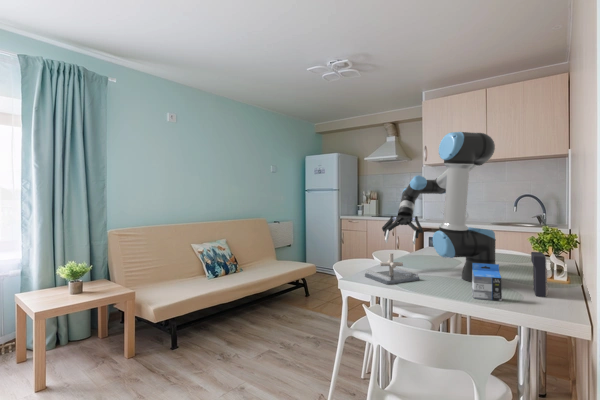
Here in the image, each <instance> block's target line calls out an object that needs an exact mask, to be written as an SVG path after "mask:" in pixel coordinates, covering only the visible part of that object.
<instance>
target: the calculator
mask: <svg viewBox="0 0 600 400" xmlns="http://www.w3.org/2000/svg"><path fill="white" fill-rule="evenodd" d="M530 252H531V253H530V254H531V256H530V257H531V259H530V260H531V263H532V265H533V266H532V267H533V268H532V269H533V270H532V271H533V272H532V273H533V274H532V275H533V282H532V285H533V286H532V287H533V292H534V295H535V296H536V297H539V298H546V297H547V296H548V289H549V288H548V275H549V274H548V268H547V257H546V255H545V253H543V252H542V251H541V252H540V251H530Z"/></svg>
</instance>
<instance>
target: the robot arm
mask: <svg viewBox="0 0 600 400" xmlns="http://www.w3.org/2000/svg"><path fill="white" fill-rule="evenodd" d="M438 145H439V146H438V155H439V157H440V159H442V161H443V166H445V167H446V168H447V169H445V170H444V171H443V173H441V174H440V175H439V176H438V177H436V178H434V179H427V178H425V177H424V176H422V175H415V176H413V177H412V178H411V180H410V181H409V183H408V185H407V187H405V188H403V190H402V193H401V198H400V202H399V208H398V212H397V216H393V215H391V216H390V218H389V219H388V220H387V222H386V223H385V224H384V225H383V226H382V227H381V229H382V231H383V235H384V237H385V238H384V241H385V244H388V242H389V238H390V232H391V231H393V229H395V228H396V227H399V226H409V227H410V228H411V229H412V230H413V237H412V244H413V245H416V240H417V239H419V235H420V233H421V234H423V233H424V231H423V227H422V225H421V224H420V221H419V216H414V217H413V215H414V210H415V209H414V208H415V204H416V201H417V199H418V198H419V196H420V195H424V194H425V195H426V194H428V195H429V194H430V195H435V194H436V195H438V194H439V195H443V194H445V195H444V208H443V209H444V210H443V222H442V223H441V224H440V225H439V226H438V228H439V229H438V230H437V231H435V232H434V234H433V235H432V246H433V249H434V250H435V253H437V254H438V256H440V257H442V258H445V259H446V258H450V259H454V258H465V263H464V266H463V269H462V271H461V279H462V280H463V281H464V280H465V281H468V282H470V283H472V269H473V267H472V263H481V264H497V263H496V234H495V231H494V230H492V229H487V228H478V227H471V226H468V225H466V220H467V219H466V218H467V217H466V216H467V205H468V191H469V182H470V172H471V171H472V170H474V169H475V168H476V167H479V166H484V164H485V163H487V162H489V161H490V159H491V158H492V157H493V155H494V153H495V151H496V150H495V149H496V148H495V147H496V144H495V141H494V139H493V138H492V137H491V136H490V135H488V134H487V133H484V132H470V131H469V132H468V131H465V132H464V131H454V132H453V131H452V132H449V133H446V134H445V135H444V136H443V138H442V139H441V141H440V143H439V144H438ZM413 222H414V223H415V224H414V223H413ZM481 268H485V269H490V267H487V266H485V267H481Z"/></svg>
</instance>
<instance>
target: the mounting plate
mask: <svg viewBox="0 0 600 400" xmlns="http://www.w3.org/2000/svg"><path fill="white" fill-rule="evenodd" d="M393 271H394V275H389V270H384V271H383V270H382V271H373V270H371V269H366V273H364V277H365V278H368V279H371V280H373V281H376V282H379V283H381V284H384V285H393V284H401V283H408V282H414V281H415V282H416V281H420V276H419V273H417V272H413V271H409V270H406V269H403V268H399V267H397V266H396V267H395V268H393Z"/></svg>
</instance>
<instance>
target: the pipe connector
mask: <svg viewBox="0 0 600 400" xmlns="http://www.w3.org/2000/svg"><path fill="white" fill-rule="evenodd" d="M388 256H389V257H388V260H387V261H385V262H384V261H380V262H379V266H380V267H388V271H389V275H394V271H393V268H395V267H396V268H397V267H403V266H404V263H403V262H402V261H401V262H398V261H396V262H395V261H394V253H393V252H389V254H388Z"/></svg>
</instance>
